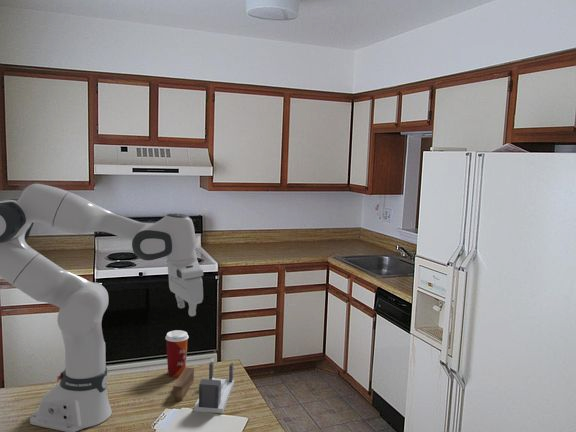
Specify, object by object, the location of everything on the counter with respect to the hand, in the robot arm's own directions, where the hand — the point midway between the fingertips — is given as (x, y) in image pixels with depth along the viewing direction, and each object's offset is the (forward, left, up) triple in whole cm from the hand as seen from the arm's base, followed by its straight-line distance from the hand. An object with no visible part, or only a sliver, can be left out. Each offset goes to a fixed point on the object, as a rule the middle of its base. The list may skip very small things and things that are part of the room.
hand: (186, 311), depth 150 cm
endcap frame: (+7, +10, -32) cm, 34 cm away
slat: (-4, +13, -32) cm, 35 cm away
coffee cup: (-10, +25, -32) cm, 42 cm away
